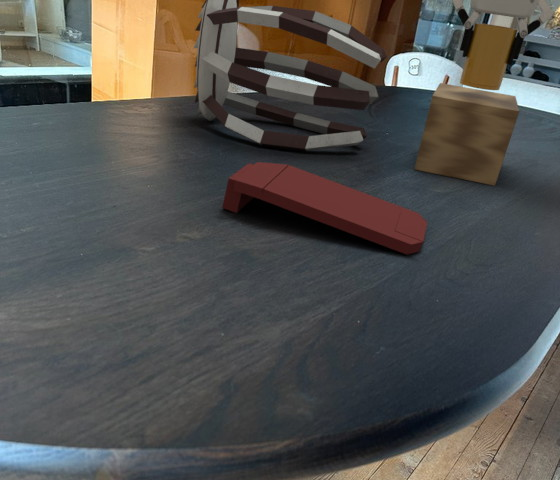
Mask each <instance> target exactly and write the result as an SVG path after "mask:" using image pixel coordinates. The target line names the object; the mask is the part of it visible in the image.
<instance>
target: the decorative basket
mask: <svg viewBox="0 0 560 480" xmlns="http://www.w3.org/2000/svg"><path fill="white" fill-rule="evenodd" d="M197 18H199V19H200V21H199V23H198V25H197V26H196V27H195V29H194V31H195V32H199V34H198V37H197V39H196V42H195V44H194V46H193V49H197V50H196V51H197V53H196V59H195V64H194V68H196V77H195V81H194V87H193V89H194V88H196V93H195V94H196V95H195V100H194V103H198V109H197V116H199V115H202V117H203V118H204V119H206V120H207V121H209V122H210V121H213V120H215V118H217V119H218V121H220V123H221V124H222V125H223V126H224V127H225V128H226V129H228V130H229V131H231V132H233V133H236V134H238V135H240V136H242V137H244V138H246V139H248V140H250V141H253V142H255V143H257V144H258V145H260V146H262V147H263V146H264V147H270V148H271V147H272V148H280V149H286V150H287V149H288V150H295V151H303V152H309V151H310V152H311V151H318V150H328V149H335V148H336V149H337V148H345V147H353V146H359V144H361V143H362V142H363V141H364V140H365V139H366V138H367V137H368V135H367V133H366V130H365V127H360V126H355V125H350V124H345V123H341V122H336V121H332V120H331V121H330V120H326V119H322V118H319V117H315V116H311V115H306V114H303V113H300V112H295V111H292V110H289V109H285V108H283V107H278V106H275V105H271V104H268V103H265V102H261V101H258V100H255V99H252V98H249V97H246V96H243V95H241V94H240V95H239V94H237V93H234V92H231V91H229V88H230V83H231V84H234V85H237V86H239V87H241V88H245V89H247V90H250V91H253V92H256V93H259V94H262V95H264V96H266V97H271V98H272V97H273V98H277V99H283V100H287V101H292V102H296V103H301V104H305V105H306V104H307V105H311V106H319V107H327V108H328V107H329V108H339V109H348V110H358V111H365V110H366V109H367V107H368V105H372V104H373V103H374V102H375V101H376V100H377V99H378V98H379V94H378V91H377V87H376V86H375V85H374V84H372V83H369V82H367V81H365V80H362V79H360V78H358V77H356V76H353V75H352V74H350V73H348V72H344V71H343V70H339V69H336V68H333V67H330V66H327V65H323V64H321V63H317V62H314V61H311V60H307V59H303V58H298V57H294V56H289V55H284V54H279V53H275V52H270V51H266V50H265V51H264V50H257V49H249V48H243V47H237V37H238V23H240V24H241V23H242V24H247V25H248V24H249V25H254V26H255V25H256V26H262V27H268V28H276V29H280V30H282V31H286V32H288V33H291V34H294V35H297V36H300V37H302V38H306V39H309V40H312V41H314V42H318V43H320V44H323V45H325V46H328V47H331V48H332V49H334V50H335V51H338V52H340V53H342V54H344V55H346V56H348V57H350V58H352V59H354V60H356V61H358V62H360V63H362V64H364V65H366V66H368V67H370V68H373V69H374V70H375V69H376V68H377V66H378V65H379V64H380V63H383V61H385V60H386V59H387V58H388V55H387V54H386V51H385V49H384V48H382V47H381V46H380V45H378V44H377V43H376V42H375V41H373V39H370V38H369V37H368V36H367V35H365V34H364V33H362V32H361V31H359V30H358V29H357V28H356V27H354V26H353V25H352V24H349V23H347V22H344V21H341V20H339V19H336V18H335V17H331V16H329V15H327V14H325V13H322V12H318V11H316V10H310V9H301V8H294V7H285V6H278V5H261V6H260V5H259V6H238V3H237V0H205V1H204V2H203V4H202V6H201V11H200V12H199V14H198V15H197ZM256 69H258V70H256ZM260 70H266V71H271V72H275V73H280V74H286V75H290V76H294V77H299V78H304V79H307V80H309V81H313V82H316V83H320V84H314V83H310V82H305V81H300V80H296V79H292V78H287V77H286V78H285V77H281V76H276V75H271V74H268V73H265V72H262V71H260ZM321 84H323V85H321ZM223 106H226V107H230V108H233V109H236V110H239V111H243V112H246V113H249V114H252V115H254V116H259V117H262V118H266V119H269V120H272V121H276V122H279V123H283V124H285V125H288V126H289V125H290V126H293V127H296V128H300V129H304V130H308V131H312V132H315V133H319V134H316V135H301V134H295V133H285V132H279V131H270V130H263V129H262V128H260V127H258V126H255V125H253V124H251V123H249V122H247V121H245V120H242V119H241V118H238V117H236V116H234V115H232V114H230V113H229V112H228V111H227V110H226V109H225V108H224V107H223Z"/></svg>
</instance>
